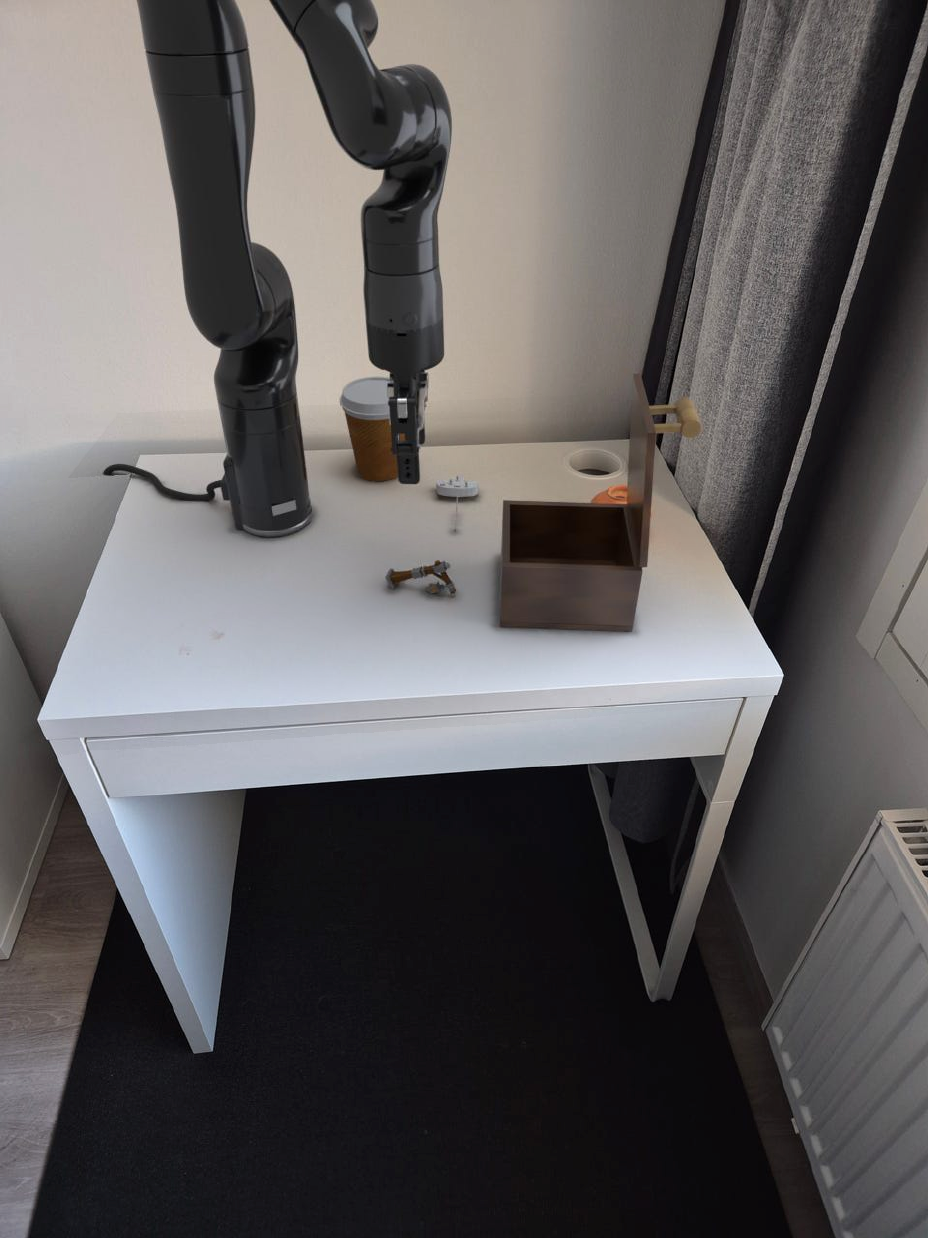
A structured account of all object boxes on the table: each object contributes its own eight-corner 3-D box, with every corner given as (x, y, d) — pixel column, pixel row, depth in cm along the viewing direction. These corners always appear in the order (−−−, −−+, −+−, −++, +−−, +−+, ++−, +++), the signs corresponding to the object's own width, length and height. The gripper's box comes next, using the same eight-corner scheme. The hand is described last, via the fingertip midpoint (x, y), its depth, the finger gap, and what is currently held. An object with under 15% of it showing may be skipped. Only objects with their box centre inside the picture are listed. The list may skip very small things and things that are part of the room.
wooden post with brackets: (460, 595, 98) (444, 563, 96) (400, 606, 102) (384, 575, 100) (464, 586, 100) (449, 554, 97) (405, 597, 103) (389, 566, 101)
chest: (499, 627, 96) (502, 566, 90) (500, 558, 106) (503, 499, 100) (632, 631, 95) (642, 570, 90) (620, 562, 105) (629, 503, 100)
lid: (647, 432, 80) (711, 429, 79) (632, 373, 90) (689, 370, 90) (639, 567, 90) (696, 565, 89) (626, 500, 100) (677, 498, 99)
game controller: (472, 481, 120) (473, 464, 118) (497, 526, 111) (498, 509, 110) (432, 486, 118) (432, 469, 117) (454, 532, 110) (454, 515, 108)
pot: (606, 556, 106) (605, 503, 103) (579, 535, 112) (577, 485, 109) (664, 542, 108) (665, 490, 104) (634, 523, 114) (633, 474, 111)
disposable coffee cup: (337, 461, 124) (329, 381, 116) (400, 448, 127) (396, 370, 119) (358, 493, 117) (351, 411, 109) (423, 479, 120) (421, 398, 112)
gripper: (373, 287, 89) (384, 431, 99) (356, 340, 78) (370, 496, 88) (446, 287, 89) (449, 431, 99) (439, 340, 78) (444, 497, 88)
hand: (412, 462), depth 93 cm, fingers open, 8 cm apart
